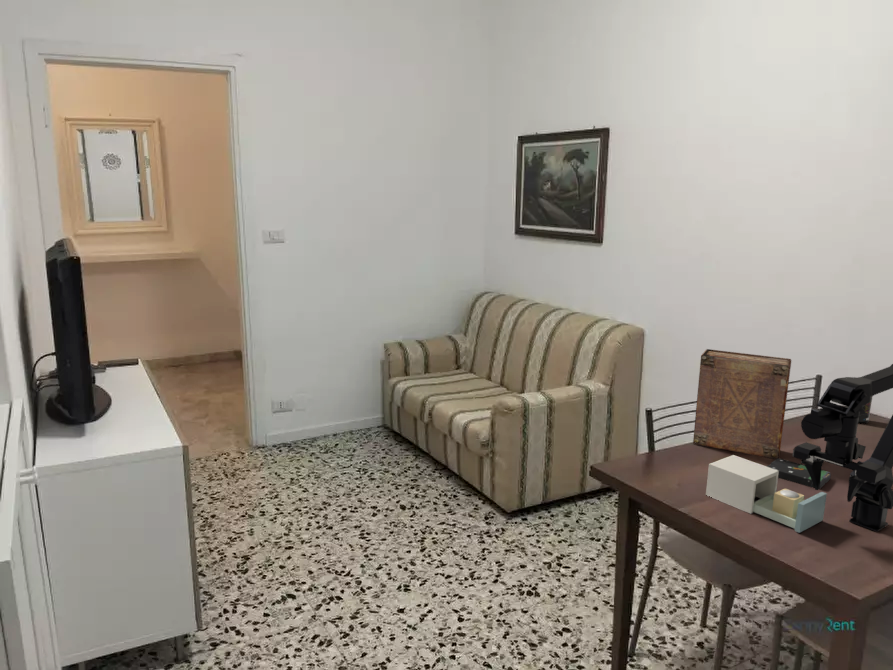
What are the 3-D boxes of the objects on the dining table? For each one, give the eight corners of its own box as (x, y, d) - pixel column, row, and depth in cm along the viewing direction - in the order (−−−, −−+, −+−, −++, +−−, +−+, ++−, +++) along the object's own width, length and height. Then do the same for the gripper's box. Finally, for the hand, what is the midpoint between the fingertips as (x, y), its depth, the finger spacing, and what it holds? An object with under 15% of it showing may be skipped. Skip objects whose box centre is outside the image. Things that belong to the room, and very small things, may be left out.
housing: (774, 502, 180) (778, 470, 178) (750, 513, 173) (754, 481, 171) (729, 485, 190) (733, 454, 188) (705, 495, 184) (708, 463, 182)
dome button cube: (801, 513, 171) (804, 494, 170) (791, 519, 168) (794, 499, 167) (782, 506, 175) (784, 487, 174) (772, 511, 172) (774, 492, 171)
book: (780, 450, 216) (792, 359, 210) (778, 460, 209) (790, 365, 202) (697, 435, 229) (706, 348, 222) (692, 444, 221) (701, 354, 214)
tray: (822, 520, 170) (826, 493, 168) (799, 532, 163) (803, 505, 162) (772, 500, 180) (775, 475, 179) (748, 511, 174) (751, 485, 172)
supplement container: (850, 416, 250) (854, 389, 248) (870, 421, 246) (875, 393, 243) (844, 420, 246) (848, 393, 244) (865, 425, 241) (869, 397, 239)
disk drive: (764, 476, 198) (819, 491, 188) (765, 467, 198) (821, 481, 188) (776, 466, 206) (830, 480, 196) (777, 457, 205) (831, 471, 195)
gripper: (901, 438, 155) (891, 501, 159) (818, 416, 170) (810, 474, 174) (879, 448, 149) (868, 514, 152) (795, 424, 164) (787, 484, 167)
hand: (832, 495), depth 162 cm, fingers open, 7 cm apart
